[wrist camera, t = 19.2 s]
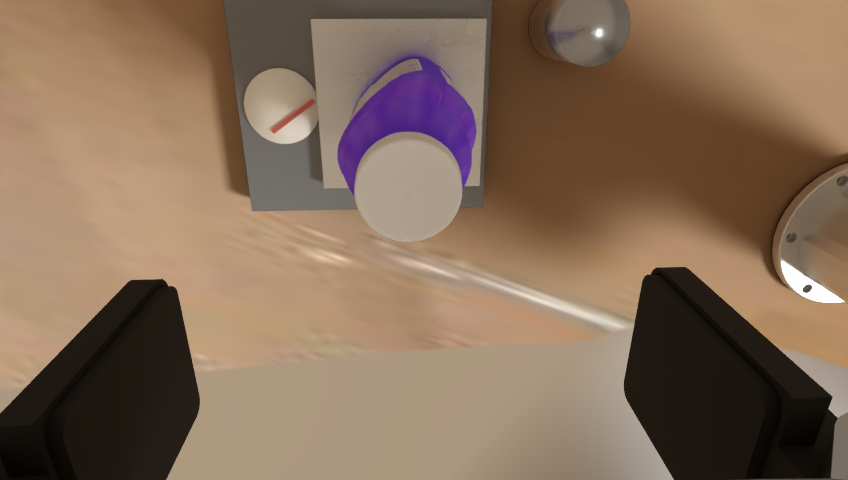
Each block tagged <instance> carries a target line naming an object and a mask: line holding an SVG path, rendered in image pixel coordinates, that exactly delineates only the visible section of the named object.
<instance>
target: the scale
mask: <svg viewBox="0 0 848 480" xmlns="http://www.w3.org/2000/svg"><path fill="white" fill-rule="evenodd" d="M223 2H224V10H225V17H226V24H227V31H228V39H229V46H230V53H231V61H232V68H233V75H234V82H235V90H236V97H237V104H238V111H239V119H240V126H241V133H242V141H243V148H244V155H245V162H246V170H247V177H248V184H249V191H250V199H251V206H252V211H288V210H344V209H358V208H357V206H356V202H355V197H354V195H353V194H352V192H351V191H350V189H349V188H324V182H323V169H322V157H321V144H320V131H319V119H318V106H317V93H316V81H315V68H314V55H313V43H312V30H311V19H472V18H484V19H487V25H486V48H485V72H484V95H483V119H482V142H481V165H480V186H464V188H463V190H462V199H461V204H460V207H483V197H484V175H485V153H486V132H487V110H488V88H489V67H490V45H491V23H492V2H493V0H223Z"/></svg>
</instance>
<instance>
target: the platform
mask: <svg viewBox="0 0 848 480" xmlns="http://www.w3.org/2000/svg"><path fill="white" fill-rule="evenodd" d="M486 25H487V19H484V18H472V19H311V30H312V43H313V55H314V68H315V81H316V93H317V106H318V119H319V131H320V144H321V157H322V169H323V182H324V188H349V187H348V185H347V182H346V180H345V178H344V175H343V174H342V172H341V170H340V167H339V164H338V158H337V150H338V145H339V142H340V139H341V137H342V135H343V133H344V131H345V129H346V127H347V125H348V123H349V120H350V118H351V115H352V112H353V109H354V107H355V105H356V103H357V101H358V100H359V98H360V96H361V95H362V94H363V92H364V91H365V90H366V88H367V87H368V86H369V85H370V84H371V83H372V81H373V80H374V79H375V78H376V77H377V76H378V75H379V74H380V73H381V72H383V71H384V70H385V69H386V68H387V67H389V66H390V65H392V64H393V63H395V62H396V61H398V60H400V59H402V58H405V57H409V56H420V57H424V58H427V59H429V60H431V61H432V62H434V63H435V64H436V65H438V66H439V67H441V68H442V69H443V70H444V71H445V73H446V74H447V75H448V76H449V77H450V78H451V80H452V81H453V83H454V84H455V85H456V86H457V88H458V89H459V91H460V92H461V94H462V95H463V96H464V98H465V99H466V101H467V102H468V104H469V105H470V107H471V109H472V111H473V114H474V118H475V123H476V130H477V131H476V138H475V143H474V146H473V148H472V166H471V170H470V173H469V176H468V179H467V182H466V184H465V186H480V165H481V142H482V119H483V95H484V72H485V48H486Z"/></svg>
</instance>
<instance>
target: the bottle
mask: <svg viewBox="0 0 848 480" xmlns="http://www.w3.org/2000/svg"><path fill="white" fill-rule="evenodd" d="M476 131H477V130H476V123H475V118H474V114H473V111H472V109H471V107H470V105H469V104H468V102H467V101H466V99H465V98H464V96H463V95H462V94H461V92H460V91H459V89H458V88H457V86H456V85H455V84H454V83H453V81H452V80H451V78H450V77H449V76H448V75H447V74H446V73H445V71H444V70H443V69H442V68H441V67H439V66H438V65H436V64H435V63H434V62H432V61H431V60H429V59H427V58H424V57H420V56H409V57H405V58H402V59H400V60H398V61H396V62H395V63H393V64H392V65H390V66H389V67H387V68H386V69H385V70H384V71H383V72H381V73H380V74H379V75H378V76H377V77H376V78H375V79H374V80H373V81H372V83H371V84H370V85H369V86H368V87H367V88H366V90H365V91H364V92H363V94H362V95H361V96H360V98H359V100H358V101H357V103H356V105H355V107H354V109H353V112H352V115H351V118H350V120H349V123H348V125H347V127H346V129H345V131H344V133H343V135H342V137H341V139H340V142H339V145H338V150H337V158H338V164H339V167H340V170H341V172H342V174H343V175H344V178H345V180H346V182H347V185H348V187H349V189H350V191H351V192H352V194H353V195H354V197H355V202H356V206H357V208H358V211H359V213H360V215H361V216H362V218H363V219H364V221H365V222H366V223H367V225H368V226H369V227H371V228H372V229H373V230H374V231H375V232H377V233H379V234H380V235H382V236H384V237H386V238H388V239H391V240H395V241H400V242H415V241H421V240H424V239H428V238H430V237H432V236H435V235H436V234H438V233H439V232H441V231H442V230H443V229H444V228H446V227H447V226H448V225H449V224H450V223H451V221H452V220H453V219H454V217H455V215H456V214H457V212H458V210H459V207H460V204H461V199H462V190H463V188H464V186H465V184H466V182H467V179H468V176H469V173H470V170H471V166H472V148H473V146H474V143H475V138H476Z"/></svg>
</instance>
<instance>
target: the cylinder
mask: <svg viewBox="0 0 848 480" xmlns="http://www.w3.org/2000/svg"><path fill="white" fill-rule="evenodd" d="M629 30H630V13H629V10H628V7H627V4H626V2H625V1H624V0H541V1H540V2H539V3H538V4H537V5H536V7H535V8H534V10H533V12H532V14H531V17H530V21H529V36H530V40H531V43H532V45H533V46H534V48H535V49H536V50H537V51H538V52H539V53H540V54H541V55H543V56H544V57H547V58H550V59H554V60H559V61H563V62H567V63H572V64H576V65H580V66H585V67H594V66H599V65H602V64H604V63H606V62H608V61H609V60H611V59H612V58H613V57H615V56H616V55H617V54H618V53H619V51H620V50H621V49H622V47H623V46H624V44H625V42H626V40H627V37H628V34H629Z"/></svg>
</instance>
